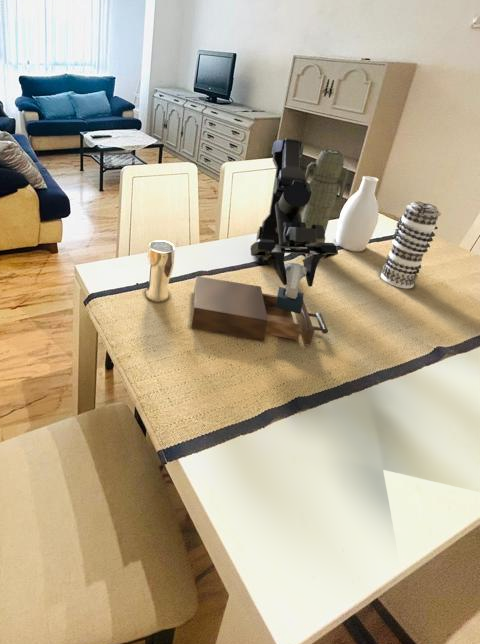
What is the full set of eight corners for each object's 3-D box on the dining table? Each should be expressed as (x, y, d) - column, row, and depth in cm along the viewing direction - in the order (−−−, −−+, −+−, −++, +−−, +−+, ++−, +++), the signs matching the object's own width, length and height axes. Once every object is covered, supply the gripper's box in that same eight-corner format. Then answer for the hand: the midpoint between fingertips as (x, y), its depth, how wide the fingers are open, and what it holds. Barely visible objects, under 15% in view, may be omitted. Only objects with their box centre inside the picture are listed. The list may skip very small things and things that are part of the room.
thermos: (327, 259, 126) (357, 157, 114) (289, 251, 130) (313, 151, 117) (324, 247, 134) (352, 150, 121) (288, 240, 138) (311, 145, 125)
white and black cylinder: (383, 268, 123) (408, 196, 114) (418, 281, 117) (447, 206, 108) (375, 279, 117) (401, 203, 108) (411, 293, 111) (442, 214, 102)
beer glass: (173, 291, 106) (179, 243, 100) (165, 305, 100) (170, 255, 94) (149, 284, 109) (154, 237, 103) (140, 297, 103) (144, 248, 97)
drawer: (316, 314, 98) (320, 300, 97) (329, 349, 87) (334, 334, 86) (236, 300, 102) (239, 287, 101) (240, 332, 91) (243, 317, 89)
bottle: (375, 254, 131) (398, 184, 122) (342, 252, 131) (363, 183, 122) (356, 238, 142) (377, 173, 132) (326, 237, 142) (345, 171, 132)
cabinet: (256, 305, 102) (260, 286, 100) (263, 341, 90) (268, 320, 87) (193, 294, 105) (196, 275, 103) (191, 328, 93) (194, 307, 90)
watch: (301, 298, 95) (310, 260, 91) (299, 318, 88) (309, 278, 84) (277, 292, 97) (285, 255, 93) (274, 311, 91) (282, 271, 86)
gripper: (263, 208, 88) (270, 277, 82) (345, 212, 88) (358, 281, 81) (247, 223, 98) (253, 285, 92) (320, 227, 98) (331, 289, 92)
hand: (297, 285), depth 89 cm, fingers closed on watch, 5 cm apart
